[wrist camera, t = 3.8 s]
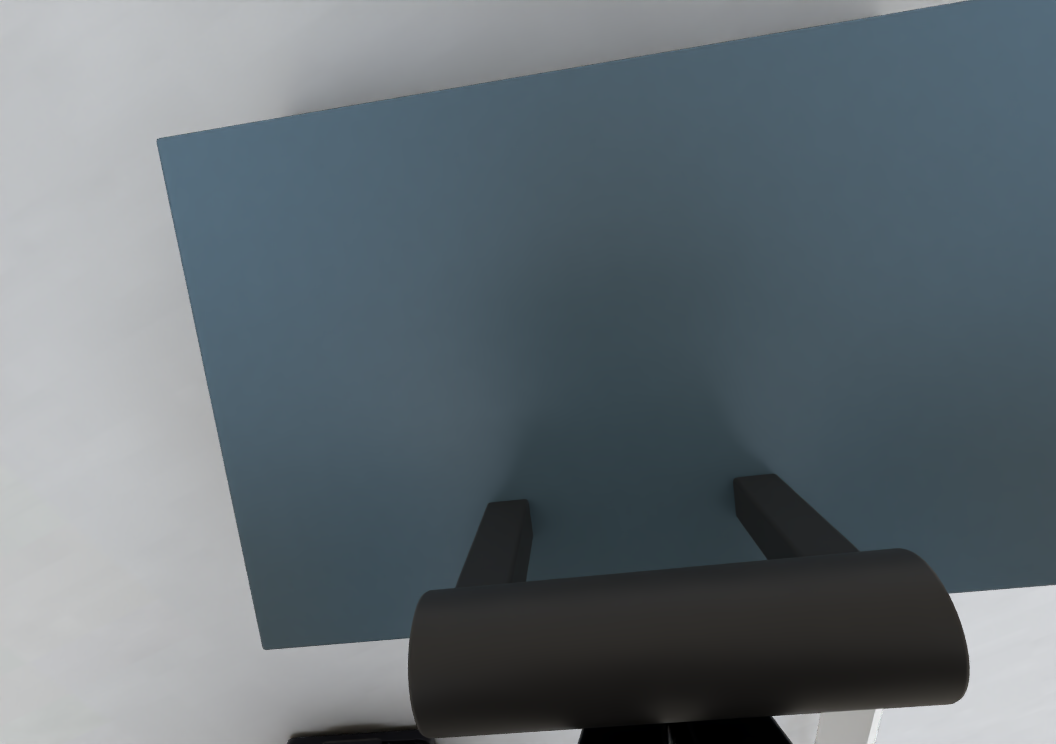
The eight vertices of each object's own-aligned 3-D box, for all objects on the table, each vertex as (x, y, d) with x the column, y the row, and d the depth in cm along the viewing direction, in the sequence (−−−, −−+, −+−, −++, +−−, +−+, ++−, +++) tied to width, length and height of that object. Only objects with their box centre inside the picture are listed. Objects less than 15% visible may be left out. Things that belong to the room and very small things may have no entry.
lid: (1042, 564, 10) (1524, 846, 5) (280, 629, 11) (43, 907, 6) (1032, 5, 9) (1651, -375, 4) (182, 147, 10) (-210, 8, 5)
